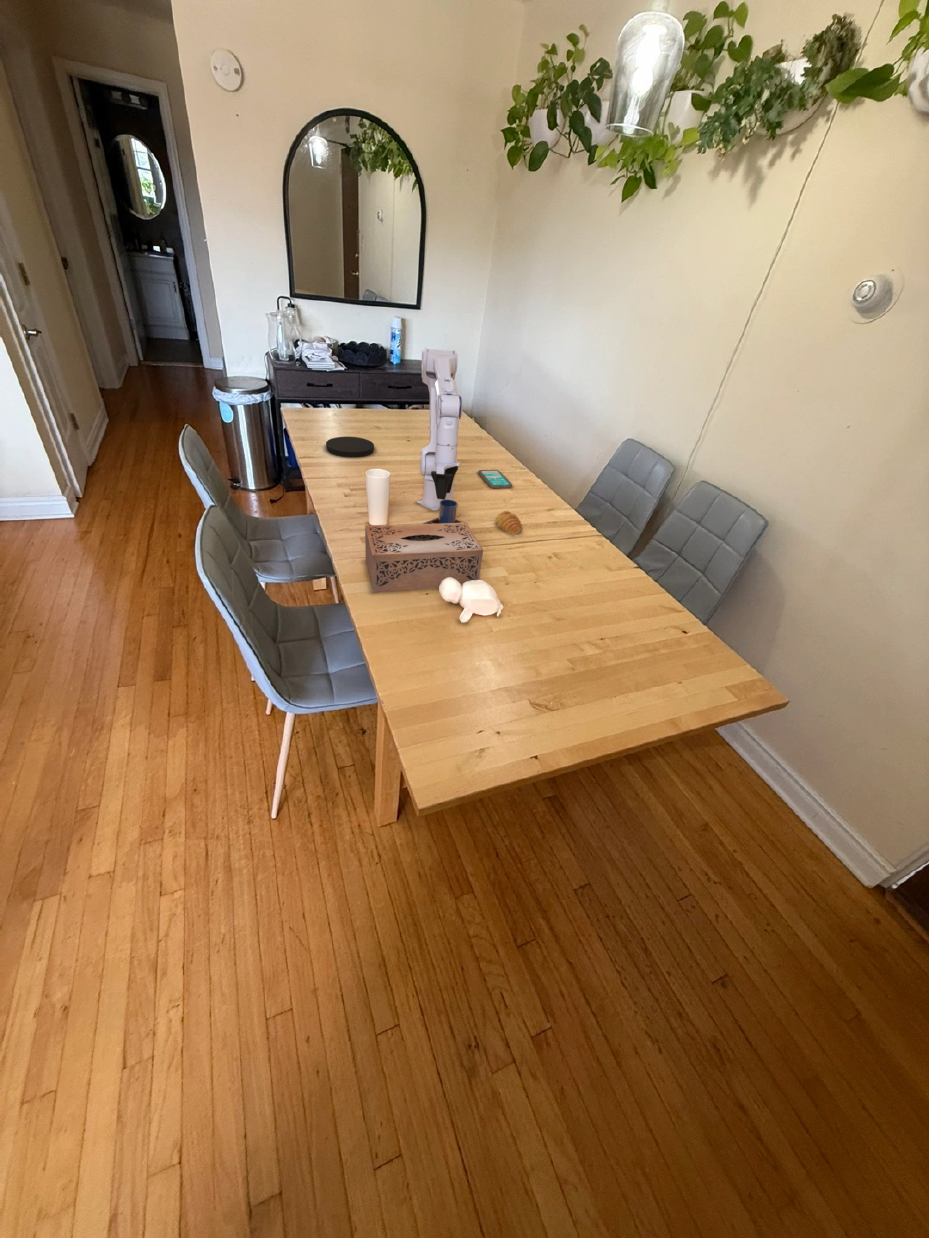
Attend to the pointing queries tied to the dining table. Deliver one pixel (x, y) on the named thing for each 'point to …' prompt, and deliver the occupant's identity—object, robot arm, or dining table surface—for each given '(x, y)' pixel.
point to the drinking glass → (377, 495)
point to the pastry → (509, 522)
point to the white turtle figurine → (471, 597)
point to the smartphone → (495, 479)
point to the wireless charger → (350, 447)
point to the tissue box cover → (420, 555)
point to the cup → (447, 511)
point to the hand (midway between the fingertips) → (443, 495)
